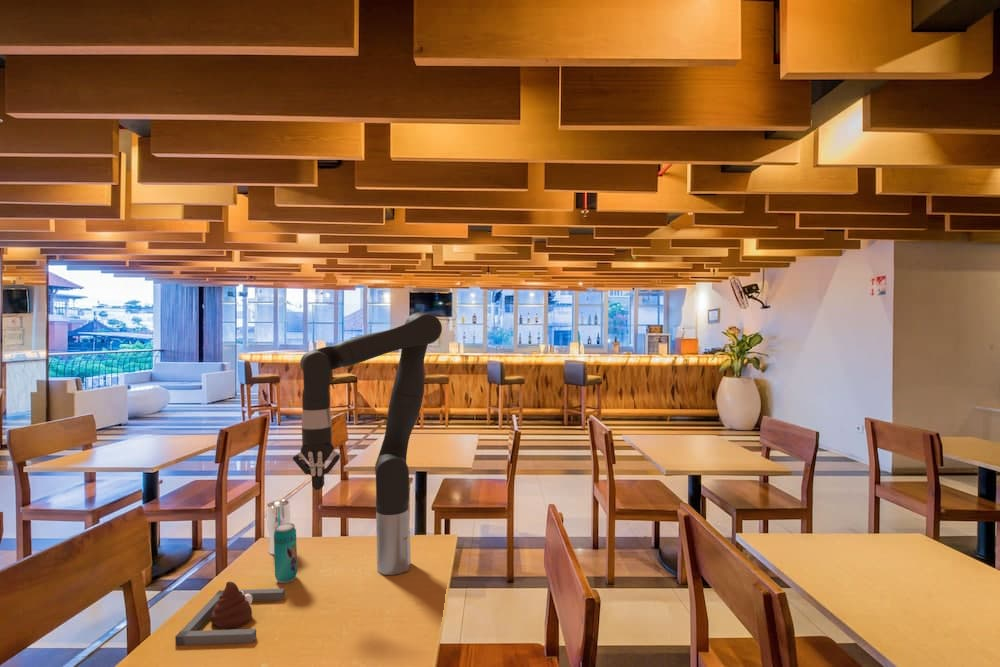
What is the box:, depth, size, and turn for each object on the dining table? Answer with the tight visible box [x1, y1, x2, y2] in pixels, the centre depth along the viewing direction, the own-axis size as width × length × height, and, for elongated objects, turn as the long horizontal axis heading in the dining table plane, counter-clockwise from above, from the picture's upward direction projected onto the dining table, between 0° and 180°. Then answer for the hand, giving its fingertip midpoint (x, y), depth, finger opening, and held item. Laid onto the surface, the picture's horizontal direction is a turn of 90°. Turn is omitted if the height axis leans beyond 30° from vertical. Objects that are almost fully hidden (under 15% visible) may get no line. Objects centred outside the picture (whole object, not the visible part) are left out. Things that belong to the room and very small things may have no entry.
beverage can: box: [274, 522, 298, 584], centre depth 148 cm, size 6×6×15 cm
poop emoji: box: [210, 581, 253, 630], centre depth 129 cm, size 10×8×9 cm
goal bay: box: [174, 588, 286, 646], centre depth 129 cm, size 17×20×2 cm
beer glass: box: [265, 499, 291, 555], centre depth 167 cm, size 7×7×15 cm
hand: (318, 488), depth 143 cm, fingers closed
